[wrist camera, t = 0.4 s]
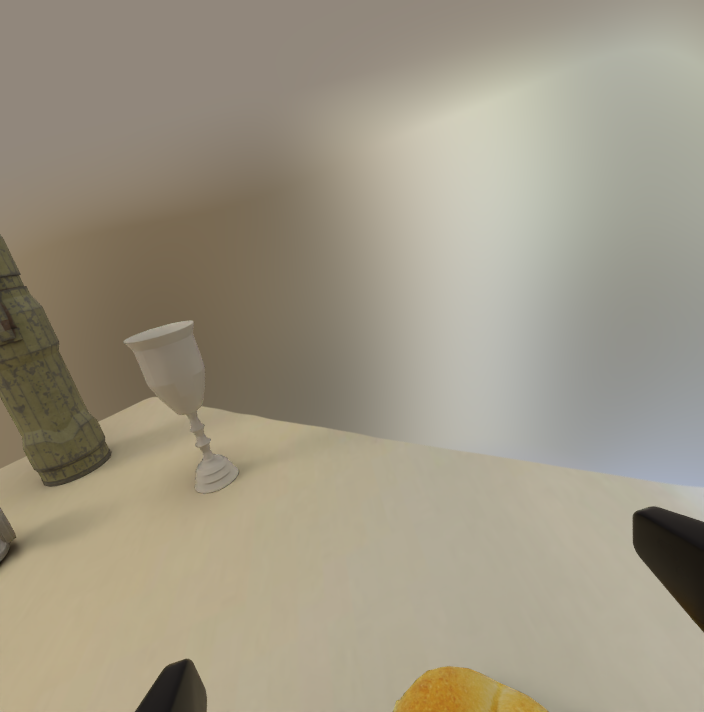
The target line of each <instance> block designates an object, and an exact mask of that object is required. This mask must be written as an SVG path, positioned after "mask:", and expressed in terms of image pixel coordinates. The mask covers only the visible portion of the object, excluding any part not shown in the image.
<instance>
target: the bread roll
mask: <svg viewBox="0 0 704 712" xmlns="http://www.w3.org/2000/svg"><path fill="white" fill-rule="evenodd" d="M393 712H548V711H547V710H546V709H545V708H544V707H543V706H541V705H540V704H539V703H537V702H536V701H535V700H533V699H532V698H530V697H529V696H527V695H525V694H523V693H521V692H519V691H517V690H514V689H512V688H510V687H508V686H505V685H503V684H501V683H499V682H497V681H495V680H493V679H491V678H489V677H487V676H485V675H483V674H481V673H479V672H476V671H474V670H471V669H469V668H460V667H451V666H447V667H440V668H437V669H434V670H429V671H427V672H426V673H424V674H423V675H422V676H421V677H419V678H418V679H417V680H416V681H415V682H414V683H413V685H412V686H411V687H410V688H409V689H408V690H407V691H406V692H405V693H404V694H403V696H402V697H401V699H400V700H397V701H396V704H395V707H394V710H393Z"/></svg>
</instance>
